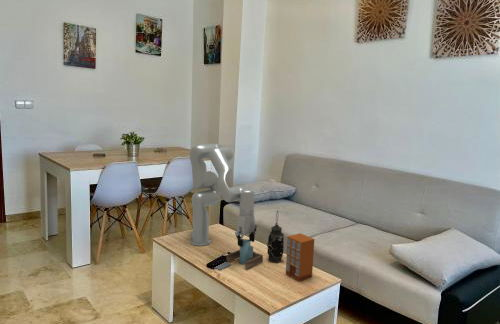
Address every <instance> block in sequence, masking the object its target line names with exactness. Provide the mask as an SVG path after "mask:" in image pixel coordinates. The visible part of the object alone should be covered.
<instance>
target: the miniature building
mask: <svg viewBox="0 0 500 324" xmlns="http://www.w3.org/2000/svg"><path fill="white" fill-rule="evenodd" d="M286 241H287V243H286V260H285V262H286V263H285V275H287V276H288V277H290V278H292V279H294V280H296V281H297V282H303V281H306V280H308V279H310V278H311V279H312V278H313V268H314V267H313V266H314V252H315V251H314V250H315V238H313V237H310V236H308V235H305V234H302V233H301V232H299V233H296V234H292V235H287V240H286Z"/></svg>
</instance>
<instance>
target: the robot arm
mask: <svg viewBox="0 0 500 324" xmlns="http://www.w3.org/2000/svg"><path fill="white" fill-rule="evenodd" d="M188 155H189V160H190V165H191V174H192V175H191V176H192V184H193V185H192V186H193V187H194V188H195V190H200V191H195V192H194V193H193V194H192V196H191V198H190V199H191V205H192V231H191V232H190V233H189V234H188V236H189V237H191V238H190V240H189V243H190V244H191V245H192V246H196V247H198V246H199V247H202V246H204V247H205V246H208V245H210V244H211V243H212V240H211V239H210V238H209V225H210V213H209V211H208V209H207V207H210V206H214V205H217V204H218V203H219V202H220V196H221V198H222V199H223V200H224V201H225V202H226V203H232V202H237V201H239V215H238V216H237V217H238V218H237V223H236V230H235V232H234V235H235V237H236V239H237V246H238V247H240V246H241V247H243V239H244V236H246V235H248V238H249V239H248V240H250V241H251V242H252V243H254V242H255V238H256V237H255V236H256V231H257V227H258V225H257V224H256V220H255V219H256V218H255V215H254V213H255V206H254V205H255V190H254V189H251V188H246V187H244V186H243V185H240V186H239V185H237V186H233V187H232V186H231V187H229V185H228V184H227V182H226V178H227V176H229V175H230V174H231V173H232V171H233V168H232V165H231V164H230V161H231V160H232V159H233V158H234V153H233V151H232V149H231V148H230V147H228V146H225V145H222V144H219V143H200V144H195V145H193V146H192V147H191V148H190V151H189V154H188ZM204 159H209V160H210V163H211V164H212V166H213V168H214V170H215V171H216V173H217V174H216V173H215V172H213V171H207V170H208V169H207V164H206V162H205V160H204ZM201 189H203V190H201ZM204 189H205V190H204Z"/></svg>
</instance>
